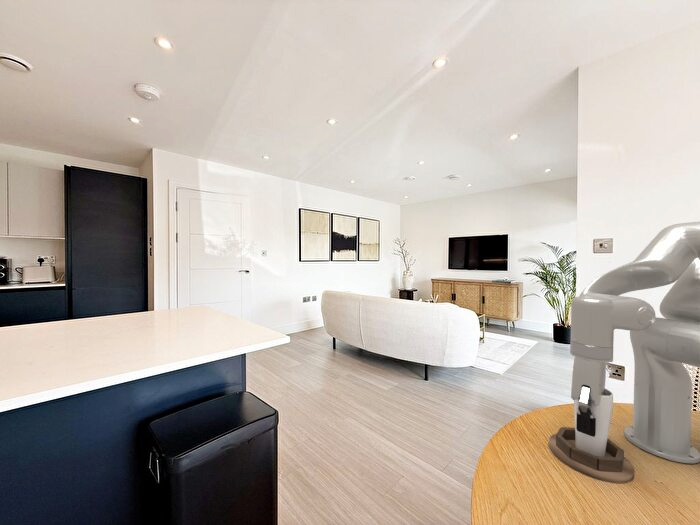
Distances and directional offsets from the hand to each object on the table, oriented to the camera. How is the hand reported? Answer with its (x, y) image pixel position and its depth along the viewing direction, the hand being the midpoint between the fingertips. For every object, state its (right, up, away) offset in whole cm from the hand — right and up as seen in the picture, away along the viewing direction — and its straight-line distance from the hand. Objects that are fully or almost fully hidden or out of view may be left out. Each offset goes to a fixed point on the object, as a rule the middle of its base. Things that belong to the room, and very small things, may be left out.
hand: (589, 425), depth 65 cm
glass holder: (0, -7, 0) cm, 7 cm away
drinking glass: (0, -7, 0) cm, 7 cm away
